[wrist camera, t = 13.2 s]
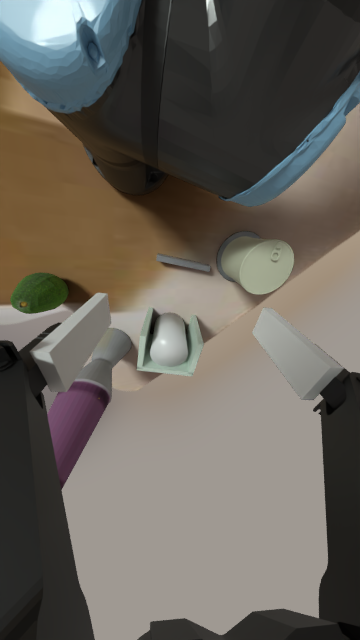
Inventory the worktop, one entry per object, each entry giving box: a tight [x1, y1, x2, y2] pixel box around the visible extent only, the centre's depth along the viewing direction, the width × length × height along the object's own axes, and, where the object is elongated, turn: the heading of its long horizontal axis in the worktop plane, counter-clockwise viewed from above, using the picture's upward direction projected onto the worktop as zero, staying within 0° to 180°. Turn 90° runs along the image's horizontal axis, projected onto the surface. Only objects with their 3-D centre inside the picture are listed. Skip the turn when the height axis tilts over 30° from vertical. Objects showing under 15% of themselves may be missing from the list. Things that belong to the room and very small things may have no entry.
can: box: [221, 236, 294, 295], centre depth 31 cm, size 9×9×12 cm
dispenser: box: [137, 253, 211, 376], centre depth 36 cm, size 24×13×13 cm, turn 168°
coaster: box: [217, 231, 261, 282], centre depth 36 cm, size 11×11×1 cm
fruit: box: [10, 273, 68, 314], centre depth 33 cm, size 8×8×12 cm
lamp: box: [47, 328, 131, 490], centre depth 30 cm, size 11×11×40 cm
